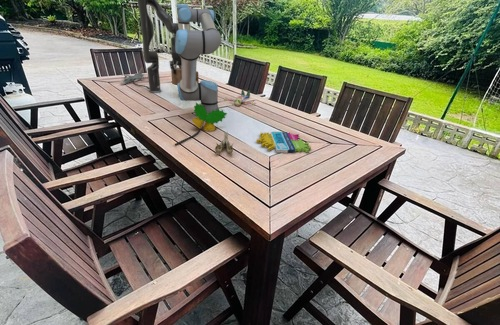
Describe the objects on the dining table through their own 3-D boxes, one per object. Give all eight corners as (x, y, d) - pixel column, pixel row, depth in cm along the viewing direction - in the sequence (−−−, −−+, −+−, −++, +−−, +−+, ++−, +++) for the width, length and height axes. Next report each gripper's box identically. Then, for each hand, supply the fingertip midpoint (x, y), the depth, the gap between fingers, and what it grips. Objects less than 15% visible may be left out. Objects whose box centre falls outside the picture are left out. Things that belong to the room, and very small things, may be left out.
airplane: (115, 77, 268) (113, 67, 262) (148, 75, 281) (146, 66, 276) (118, 87, 239) (116, 75, 234) (154, 84, 252) (153, 74, 247)
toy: (261, 91, 228) (254, 99, 202) (261, 99, 231) (253, 108, 205) (231, 87, 233) (220, 95, 207) (230, 95, 236) (219, 104, 210)
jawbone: (234, 135, 144) (233, 125, 135) (233, 160, 138) (232, 151, 129) (217, 135, 144) (216, 125, 135) (216, 160, 138) (214, 150, 129)
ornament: (218, 133, 171) (224, 110, 169) (221, 134, 163) (227, 111, 161) (186, 125, 162) (192, 101, 160) (189, 126, 155) (195, 101, 153)
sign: (313, 150, 142) (258, 149, 139) (312, 153, 143) (258, 152, 140) (301, 132, 164) (254, 130, 161) (301, 134, 165) (254, 133, 162)
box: (198, 88, 212) (198, 71, 205) (193, 89, 207) (193, 72, 201) (177, 82, 222) (176, 67, 215) (172, 84, 217) (171, 68, 211)
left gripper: (179, 50, 212) (180, 71, 220) (165, 51, 201) (167, 74, 209) (186, 51, 209) (187, 73, 217) (172, 52, 198) (174, 75, 206)
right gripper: (187, 30, 187) (189, 61, 197) (169, 31, 166) (172, 66, 176) (197, 30, 186) (198, 62, 196) (180, 32, 164) (182, 67, 175)
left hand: (177, 73), depth 213 cm, fingers closed on box, 6 cm apart
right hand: (186, 64), depth 186 cm, fingers open, 13 cm apart
